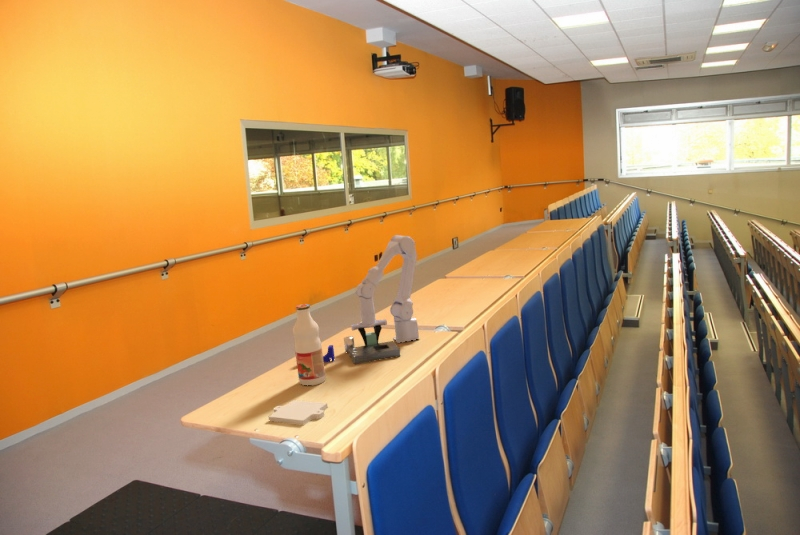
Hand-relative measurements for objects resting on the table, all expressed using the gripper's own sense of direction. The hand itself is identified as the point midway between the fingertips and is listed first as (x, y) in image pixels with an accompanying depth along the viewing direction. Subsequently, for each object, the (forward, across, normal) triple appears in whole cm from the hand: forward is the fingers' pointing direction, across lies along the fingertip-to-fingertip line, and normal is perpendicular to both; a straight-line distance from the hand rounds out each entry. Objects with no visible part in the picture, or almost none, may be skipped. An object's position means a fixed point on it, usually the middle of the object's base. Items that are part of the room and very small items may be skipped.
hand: (371, 344), depth 249 cm
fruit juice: (+2, -27, -28) cm, 39 cm away
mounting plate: (+2, -34, -56) cm, 66 cm away
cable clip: (+2, -23, -6) cm, 24 cm away
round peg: (+2, -9, 0) cm, 9 cm away
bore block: (+2, -1, -11) cm, 11 cm away
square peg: (+2, 0, 0) cm, 2 cm away
